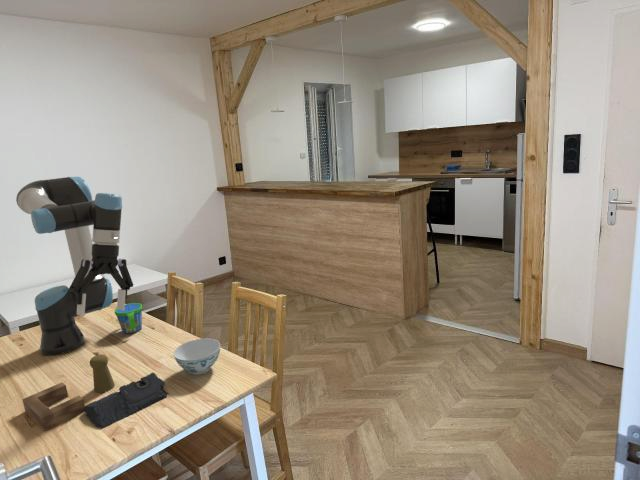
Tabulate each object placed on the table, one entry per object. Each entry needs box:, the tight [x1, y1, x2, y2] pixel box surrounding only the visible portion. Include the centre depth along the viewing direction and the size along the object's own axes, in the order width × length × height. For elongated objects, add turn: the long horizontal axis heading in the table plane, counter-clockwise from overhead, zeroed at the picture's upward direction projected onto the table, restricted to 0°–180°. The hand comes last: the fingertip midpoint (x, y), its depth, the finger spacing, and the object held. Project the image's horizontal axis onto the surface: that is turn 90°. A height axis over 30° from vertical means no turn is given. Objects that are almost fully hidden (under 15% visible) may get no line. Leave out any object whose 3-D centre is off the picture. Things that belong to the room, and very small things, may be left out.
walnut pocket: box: [21, 382, 86, 432], centre depth 130 cm, size 11×16×4 cm
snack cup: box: [114, 302, 143, 334], centre depth 183 cm, size 16×10×10 cm
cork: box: [89, 354, 116, 394], centre depth 140 cm, size 6×6×11 cm
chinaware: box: [173, 337, 221, 376], centre depth 147 cm, size 15×15×8 cm
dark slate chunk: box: [83, 372, 169, 429], centre depth 132 cm, size 15×22×5 cm
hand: (101, 312), depth 136 cm, fingers open, 13 cm apart
